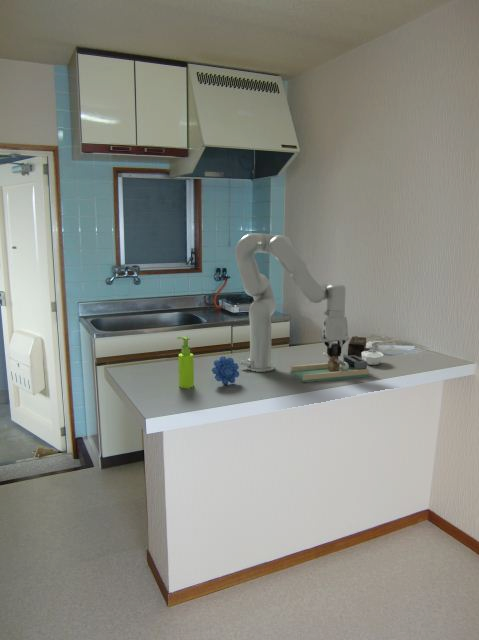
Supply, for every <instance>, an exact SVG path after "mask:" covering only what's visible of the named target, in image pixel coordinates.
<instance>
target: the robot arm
mask: <svg viewBox="0 0 479 640" xmlns="http://www.w3.org/2000/svg"><path fill="white" fill-rule="evenodd" d="M292 244H293V243H292V241H291V239H290V238H289V236H285V235H283V234H282V235H280V234H278V235H277V234H269V233H259V232H258V233H257V232H256V233H254V232H253V233H248V234H245V235H244V236H243V237H242V238H241V239H239V240H238V242H237V244H236V245H235V250H234V258H235V263H236V265H237V269H238V271H239V276H240V279H241V283H242V286H243V289H244V292H245V294H246V295H248V296H250V297H252V298H253V301H252V303H250V306H249V308H248V319H249V357H248V358H247V359H246V360H239V363H238V364H239V366H244V367H246V369H247V370H248V371H250V370H251V372H255V371H256V373H257V372H259V373H265V372H266V371H267V372H271V371H273V370H274V369H275V365H274V364H273V363H272V319H271V317H272V316H273V314H274V313H275V311H276V309H277V303H276V299H275V296H274V293H273V289H272V286H271V283H270V280H269V279H268V277H267V276H266V275H265V274H263V273H261V272H260V270H259V266H258V263H257V260H256V259H255V254H258V253H261V254H271V255H272V256H273V257H274V258H275V259H276V261H277V262H278V263H279V264H280V266H282V267H283V268H284V270H285V271H286V272H287V273H288V274H289V277H290V278H291V280H292V282H294V284H295V285H296V286H297V288H298V290H299V291H300V292H301V293H302V294H303V296H305V298H306V299H307V300H308V301H310V302H311V303H313V304H318V303H321V302H322V301H324V300H325V301H326V310H325V311H323V315H324V316H325V317H324V319H323V325H322V336H321V337H320V339H319V341H320V342H321V343H323V344H324V345H325V346H326V347H327V348H326V353H327V354H328V356H330V357H332V351H333V348H331V346H332V343H333V342H336V343H337V344H338V356H339V357H341V354H342V348H343V346H344V344H346V342H349V341H350V337H349V327H348V319H347V316H345V312H346V311H345V310H346V290H347V289H346V286H345V285H344V284H339V283H334V284H333V283H331V284H328V283H323V282H317V280H316V279H315V278H314V277H313V276H312V275H311V273H310V271H309V269H308V267H307V264H306V261H305V260H304V258H303V257H302V256H301V255H300V254H299V253H298V252H297V250H296V249H295V248H294V247H293V245H292Z"/></svg>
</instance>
